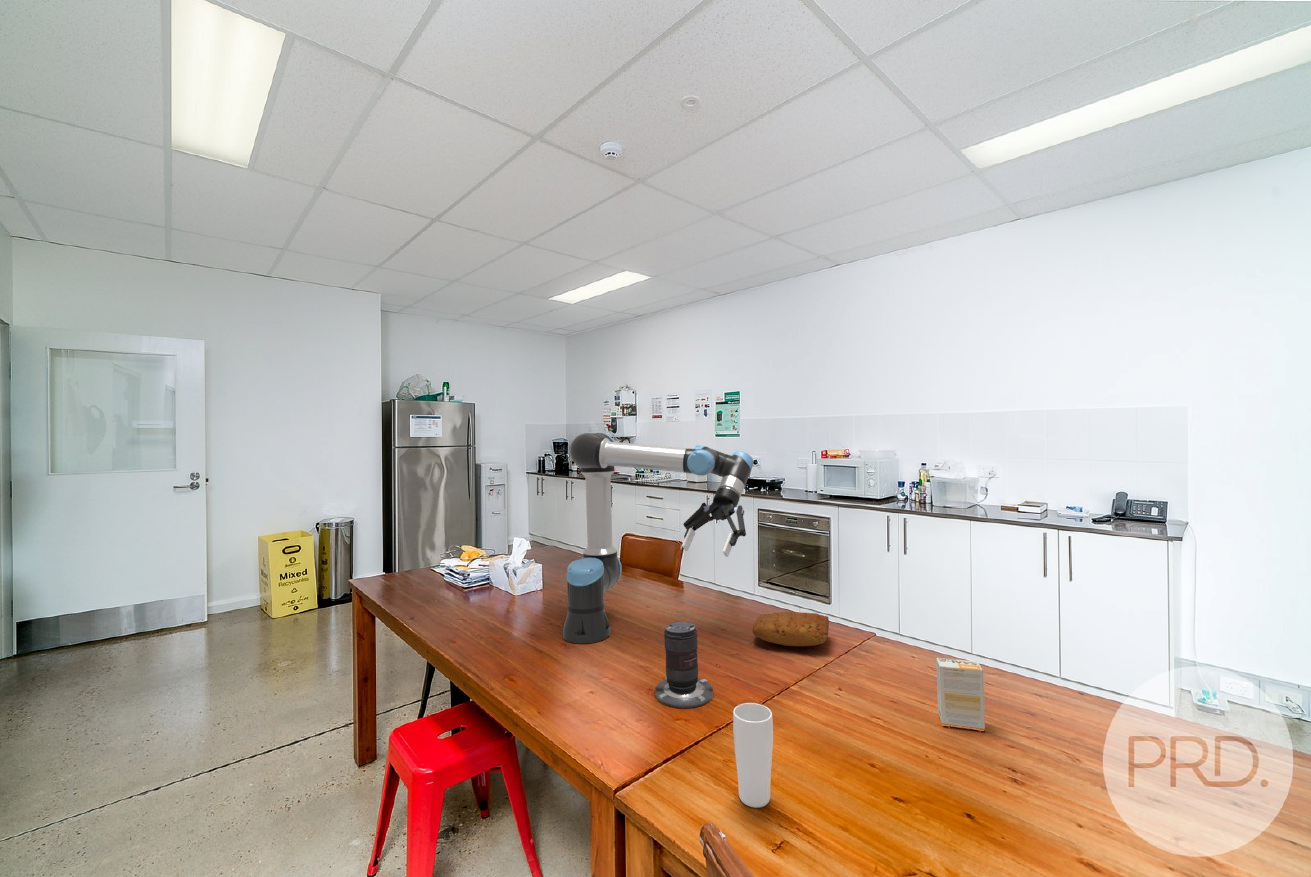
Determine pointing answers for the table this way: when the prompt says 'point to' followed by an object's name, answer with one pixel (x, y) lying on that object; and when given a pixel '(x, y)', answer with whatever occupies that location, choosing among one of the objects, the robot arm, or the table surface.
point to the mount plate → (685, 695)
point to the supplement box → (960, 693)
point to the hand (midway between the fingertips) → (704, 551)
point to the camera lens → (681, 657)
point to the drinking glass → (753, 752)
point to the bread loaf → (792, 628)
